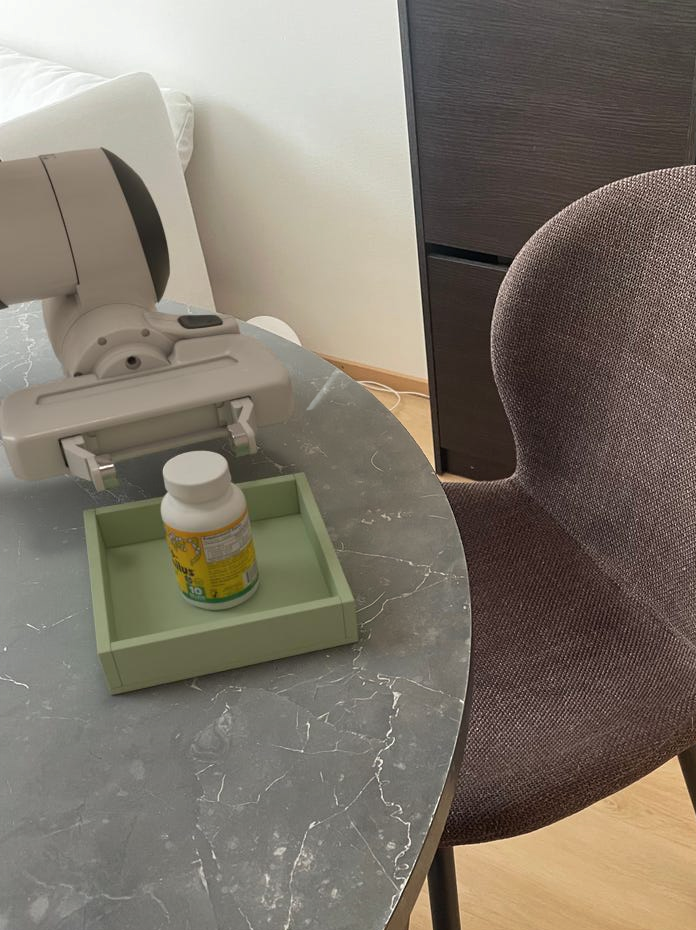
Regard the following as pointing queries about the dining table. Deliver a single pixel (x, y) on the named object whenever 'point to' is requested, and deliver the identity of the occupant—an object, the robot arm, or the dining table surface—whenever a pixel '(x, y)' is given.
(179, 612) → the tray
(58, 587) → the dining table surface
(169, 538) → the supplement bottle
